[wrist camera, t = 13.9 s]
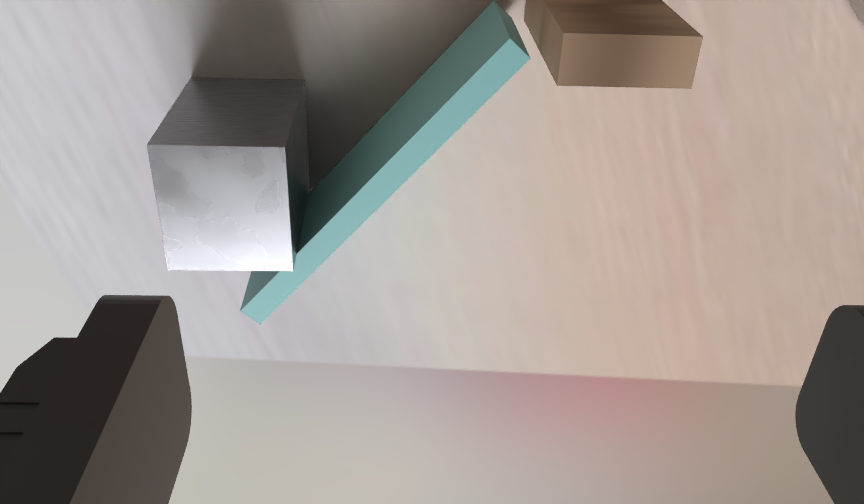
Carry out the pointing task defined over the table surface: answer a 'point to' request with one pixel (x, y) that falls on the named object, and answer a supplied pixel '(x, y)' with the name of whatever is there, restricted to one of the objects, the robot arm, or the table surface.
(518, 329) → the table surface
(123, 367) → the robot arm
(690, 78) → the wall frame
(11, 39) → the table surface
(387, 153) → the door
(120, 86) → the table surface
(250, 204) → the block
